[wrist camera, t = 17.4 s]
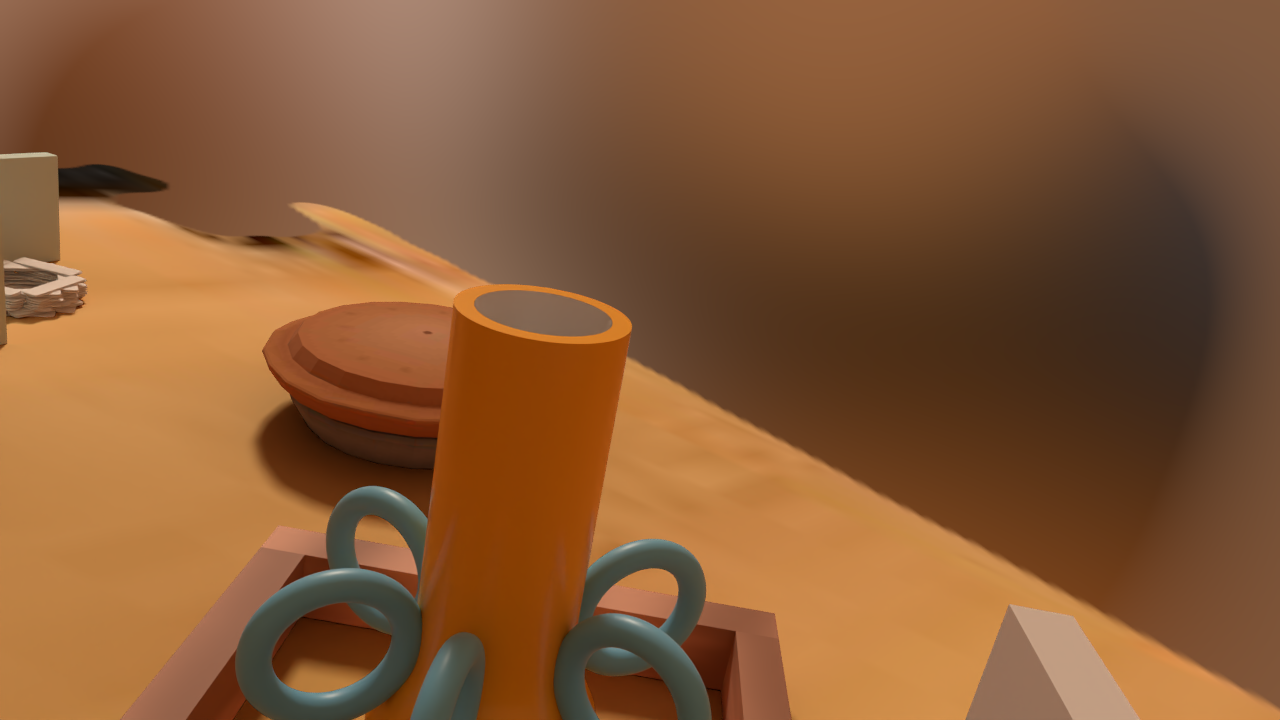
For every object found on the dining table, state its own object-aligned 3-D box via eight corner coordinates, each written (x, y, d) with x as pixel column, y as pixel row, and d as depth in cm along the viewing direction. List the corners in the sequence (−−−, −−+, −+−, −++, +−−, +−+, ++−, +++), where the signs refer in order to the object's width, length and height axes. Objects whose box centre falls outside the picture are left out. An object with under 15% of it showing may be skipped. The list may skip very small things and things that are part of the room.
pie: (618, 471, 49) (635, 382, 47) (310, 513, 40) (318, 404, 38) (489, 360, 60) (500, 285, 59) (229, 373, 52) (232, 285, 50)
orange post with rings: (593, 670, 33) (673, 259, 29) (748, 926, 25) (901, 401, 20) (212, 733, 28) (230, 232, 23) (244, 1091, 19) (284, 414, 14)
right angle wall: (-10, 357, 49) (-17, 215, 47) (-154, 296, 53) (-168, 162, 51) (182, 312, 60) (184, 195, 58) (49, 264, 64) (46, 152, 62)
